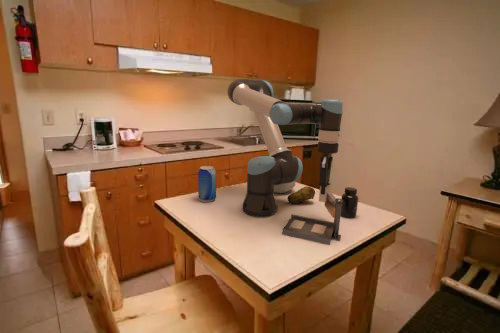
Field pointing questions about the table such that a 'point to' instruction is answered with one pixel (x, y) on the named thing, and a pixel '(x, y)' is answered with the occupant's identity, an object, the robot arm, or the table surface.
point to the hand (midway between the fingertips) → (322, 201)
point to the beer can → (207, 184)
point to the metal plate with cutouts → (309, 229)
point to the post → (337, 220)
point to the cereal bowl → (284, 187)
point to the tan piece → (330, 203)
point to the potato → (302, 195)
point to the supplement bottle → (349, 203)
